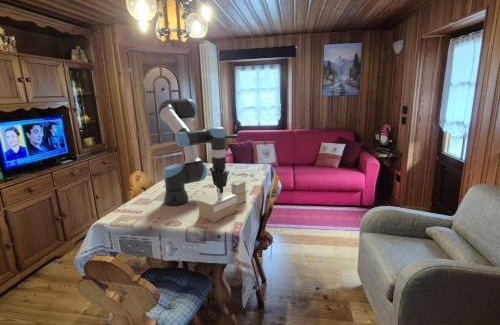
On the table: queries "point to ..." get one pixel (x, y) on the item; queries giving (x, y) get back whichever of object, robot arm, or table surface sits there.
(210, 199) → the lid
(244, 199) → the supplement box
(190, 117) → the robot arm
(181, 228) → the table surface
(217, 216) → the carton
